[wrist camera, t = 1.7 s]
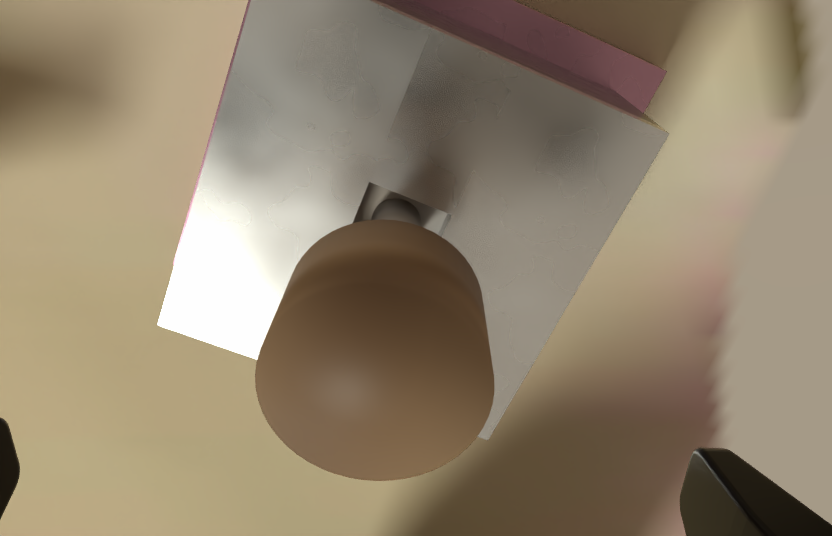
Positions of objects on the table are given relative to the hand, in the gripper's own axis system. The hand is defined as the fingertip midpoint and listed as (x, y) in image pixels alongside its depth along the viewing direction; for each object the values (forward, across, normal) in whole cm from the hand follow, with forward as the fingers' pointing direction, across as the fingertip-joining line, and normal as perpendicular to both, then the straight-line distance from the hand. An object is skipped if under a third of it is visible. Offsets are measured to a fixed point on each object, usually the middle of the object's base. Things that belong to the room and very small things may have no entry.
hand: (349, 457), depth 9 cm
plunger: (+9, 0, 0) cm, 9 cm away
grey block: (+13, 0, 0) cm, 13 cm away
